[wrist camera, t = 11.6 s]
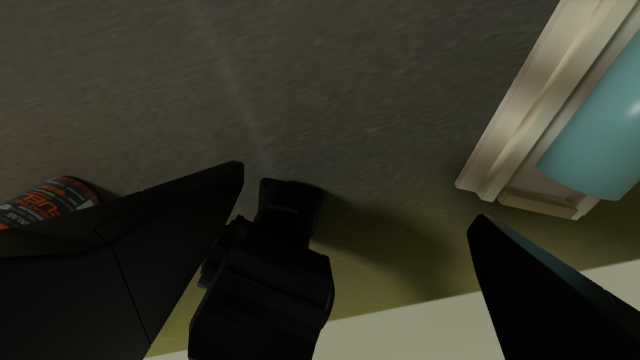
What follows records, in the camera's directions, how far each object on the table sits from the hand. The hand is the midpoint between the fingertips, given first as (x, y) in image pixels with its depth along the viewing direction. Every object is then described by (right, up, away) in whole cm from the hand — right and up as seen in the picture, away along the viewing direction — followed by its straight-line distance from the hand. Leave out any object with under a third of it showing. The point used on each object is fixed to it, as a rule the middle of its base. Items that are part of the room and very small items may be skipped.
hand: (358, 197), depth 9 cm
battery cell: (+18, +6, +8) cm, 21 cm away
